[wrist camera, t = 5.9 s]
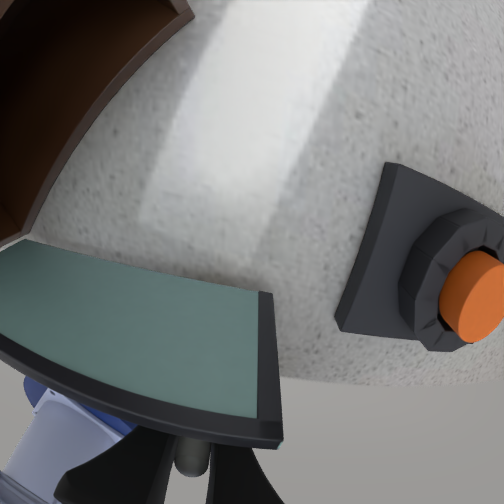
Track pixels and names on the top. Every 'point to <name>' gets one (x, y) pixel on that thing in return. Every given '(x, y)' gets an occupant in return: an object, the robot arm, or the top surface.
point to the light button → (473, 296)
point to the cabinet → (64, 84)
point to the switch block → (414, 258)
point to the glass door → (145, 347)
